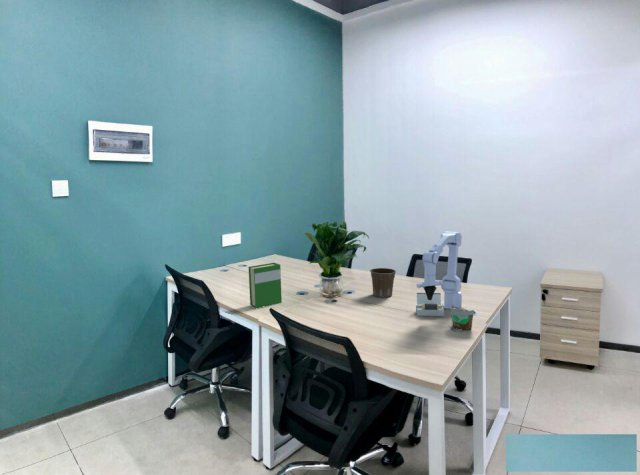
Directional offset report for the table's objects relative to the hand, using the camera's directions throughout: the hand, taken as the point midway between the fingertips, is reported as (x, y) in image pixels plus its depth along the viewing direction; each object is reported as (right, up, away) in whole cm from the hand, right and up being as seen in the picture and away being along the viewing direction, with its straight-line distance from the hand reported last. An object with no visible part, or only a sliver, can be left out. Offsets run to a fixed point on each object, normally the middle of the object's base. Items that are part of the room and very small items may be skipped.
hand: (429, 299), depth 217 cm
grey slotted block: (+3, -9, +10) cm, 13 cm away
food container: (+11, -12, -13) cm, 21 cm away
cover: (+3, -1, +12) cm, 13 cm away
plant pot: (-18, -4, +46) cm, 50 cm away
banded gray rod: (+2, -5, +5) cm, 7 cm away
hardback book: (-91, -8, +33) cm, 97 cm away
